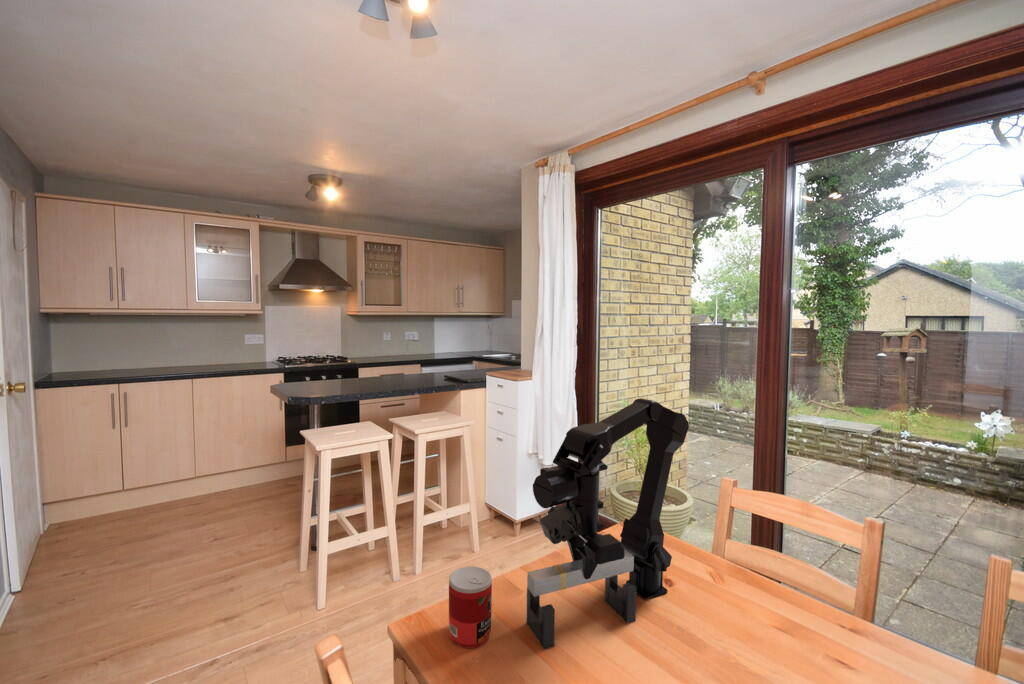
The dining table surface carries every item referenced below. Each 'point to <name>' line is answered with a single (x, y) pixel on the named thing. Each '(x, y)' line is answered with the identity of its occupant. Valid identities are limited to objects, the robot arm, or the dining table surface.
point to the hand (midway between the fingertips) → (582, 573)
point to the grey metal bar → (574, 575)
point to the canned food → (470, 606)
